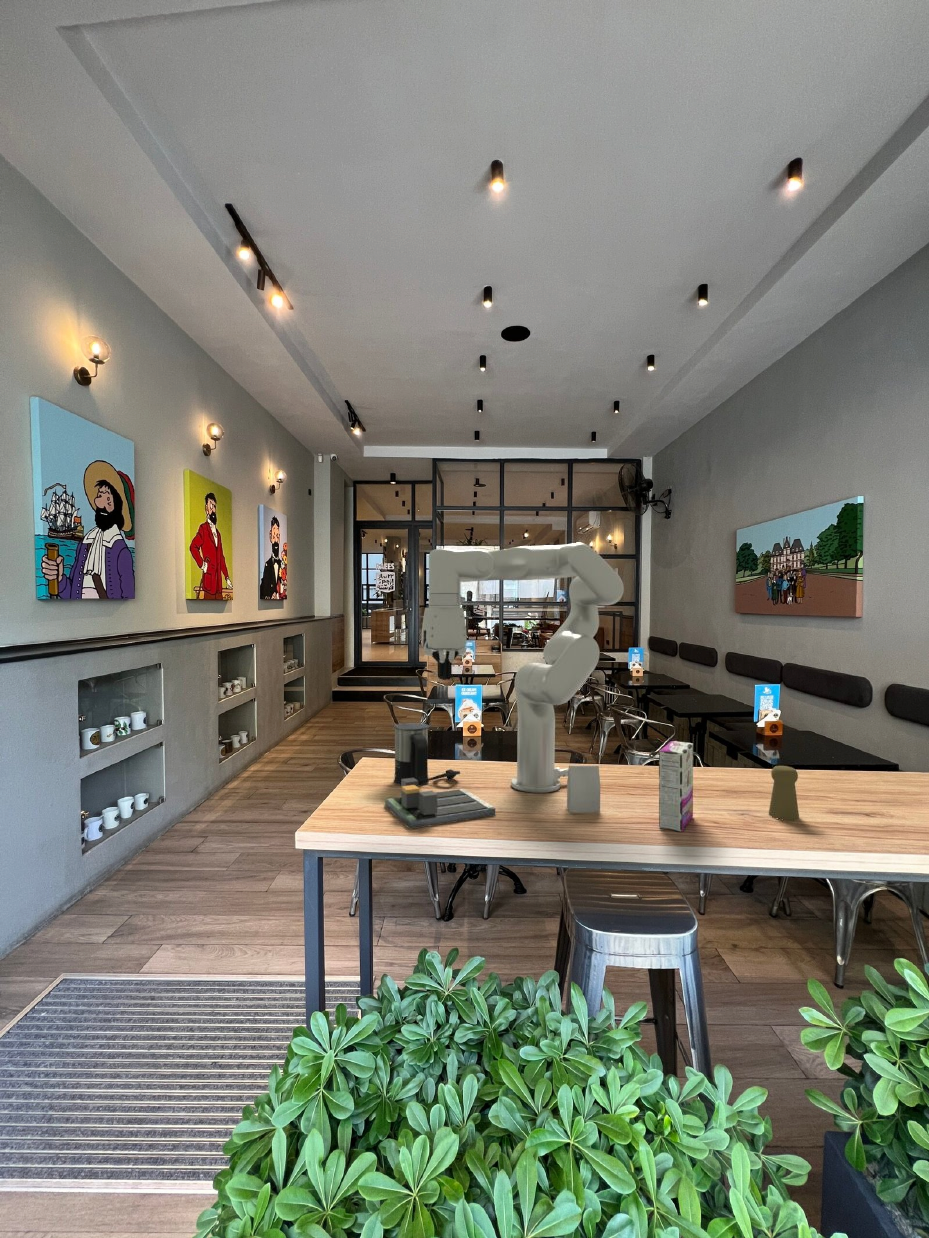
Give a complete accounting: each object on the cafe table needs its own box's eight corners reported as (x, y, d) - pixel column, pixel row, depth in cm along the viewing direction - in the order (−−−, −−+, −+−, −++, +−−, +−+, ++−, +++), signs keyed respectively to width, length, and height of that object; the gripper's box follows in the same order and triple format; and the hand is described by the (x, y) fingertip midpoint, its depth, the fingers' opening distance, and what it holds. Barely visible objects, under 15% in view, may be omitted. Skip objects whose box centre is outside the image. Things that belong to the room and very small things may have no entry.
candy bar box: (670, 813, 135) (671, 740, 135) (693, 817, 133) (694, 742, 132) (657, 828, 126) (658, 749, 125) (682, 833, 123) (683, 752, 123)
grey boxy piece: (600, 812, 135) (600, 768, 135) (570, 812, 135) (570, 768, 135) (596, 807, 139) (596, 763, 139) (566, 807, 139) (567, 763, 139)
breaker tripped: (414, 802, 135) (414, 784, 134) (419, 806, 132) (419, 788, 132) (401, 804, 133) (401, 786, 133) (406, 808, 131) (406, 790, 130)
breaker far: (413, 794, 140) (413, 777, 140) (418, 798, 138) (418, 780, 138) (401, 796, 139) (401, 779, 139) (405, 800, 136) (405, 782, 136)
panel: (463, 794, 147) (463, 787, 147) (495, 815, 133) (495, 807, 133) (385, 805, 138) (385, 798, 138) (409, 828, 124) (409, 820, 124)
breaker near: (431, 808, 130) (431, 790, 130) (437, 813, 128) (437, 794, 128) (418, 810, 129) (418, 792, 129) (424, 815, 126) (424, 796, 126)
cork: (787, 822, 130) (788, 771, 130) (762, 814, 135) (763, 765, 135) (805, 818, 132) (806, 768, 132) (779, 810, 138) (780, 762, 138)
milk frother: (386, 781, 159) (386, 724, 158) (433, 771, 169) (434, 718, 169) (418, 794, 148) (419, 733, 148) (467, 782, 158) (467, 725, 158)
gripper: (465, 602, 149) (465, 676, 150) (409, 601, 143) (409, 679, 143) (480, 601, 143) (479, 679, 143) (421, 601, 136) (421, 682, 136)
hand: (444, 679), depth 143 cm, fingers closed
